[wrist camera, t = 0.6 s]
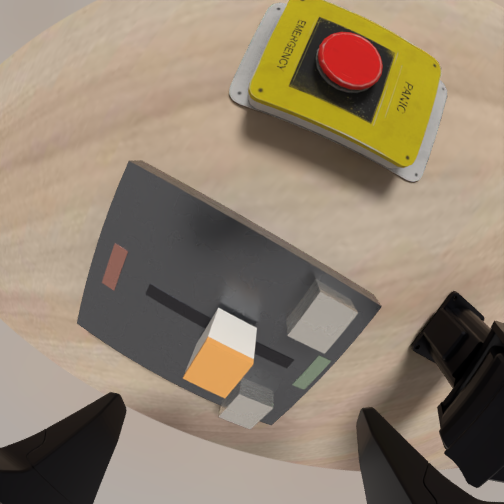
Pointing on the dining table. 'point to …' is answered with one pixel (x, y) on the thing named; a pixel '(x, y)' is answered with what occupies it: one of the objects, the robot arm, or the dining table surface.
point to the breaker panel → (215, 294)
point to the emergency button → (344, 83)
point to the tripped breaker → (222, 354)
